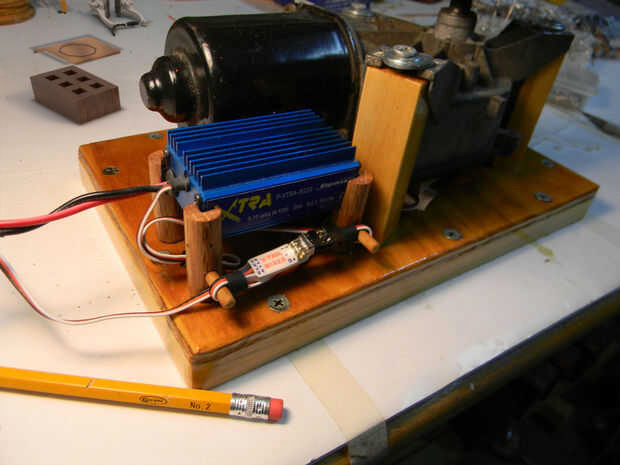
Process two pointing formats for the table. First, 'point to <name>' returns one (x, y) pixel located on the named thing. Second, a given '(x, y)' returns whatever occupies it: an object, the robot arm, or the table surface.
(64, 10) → the pencil
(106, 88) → the stand
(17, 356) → the table surface
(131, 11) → the bike brake
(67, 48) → the pad
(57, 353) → the table surface
